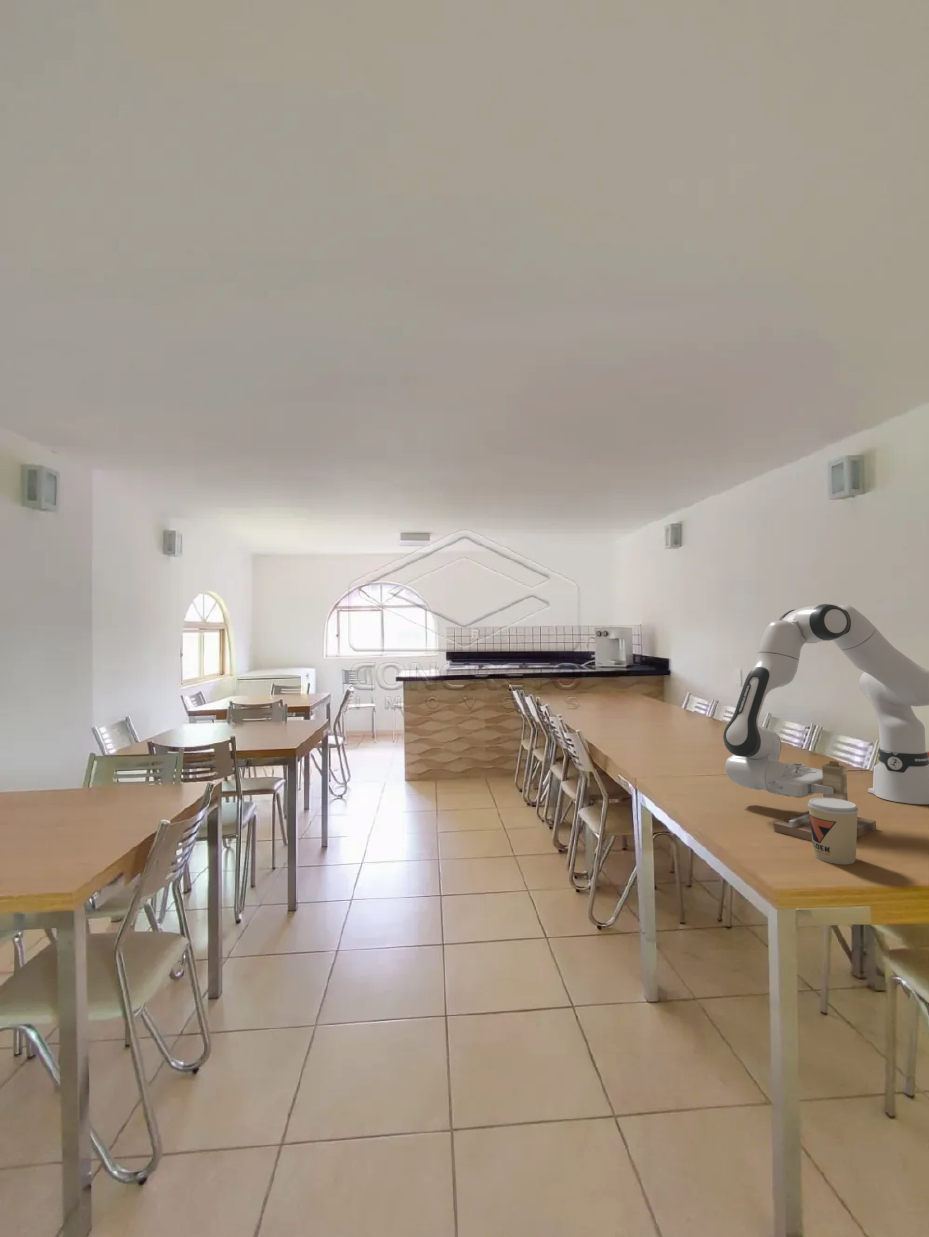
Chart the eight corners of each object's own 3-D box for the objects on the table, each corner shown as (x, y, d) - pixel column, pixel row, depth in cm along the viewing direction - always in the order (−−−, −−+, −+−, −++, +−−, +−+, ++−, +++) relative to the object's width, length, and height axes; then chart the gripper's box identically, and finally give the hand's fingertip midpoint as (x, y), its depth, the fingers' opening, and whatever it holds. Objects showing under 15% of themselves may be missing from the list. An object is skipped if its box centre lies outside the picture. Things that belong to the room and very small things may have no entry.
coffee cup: (800, 851, 132) (798, 797, 133) (839, 849, 133) (837, 796, 133) (828, 866, 123) (826, 809, 123) (870, 865, 124) (868, 807, 124)
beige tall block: (831, 813, 153) (829, 759, 153) (851, 817, 149) (849, 762, 149) (824, 816, 150) (822, 761, 151) (844, 820, 146) (842, 764, 147)
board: (817, 815, 158) (816, 802, 158) (876, 828, 147) (875, 814, 147) (774, 831, 146) (773, 817, 146) (834, 847, 134) (834, 831, 135)
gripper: (763, 772, 155) (818, 782, 144) (802, 762, 166) (856, 771, 155) (764, 796, 155) (819, 808, 143) (803, 785, 166) (857, 795, 155)
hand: (839, 789), depth 149 cm, fingers closed on beige tall block, 4 cm apart
